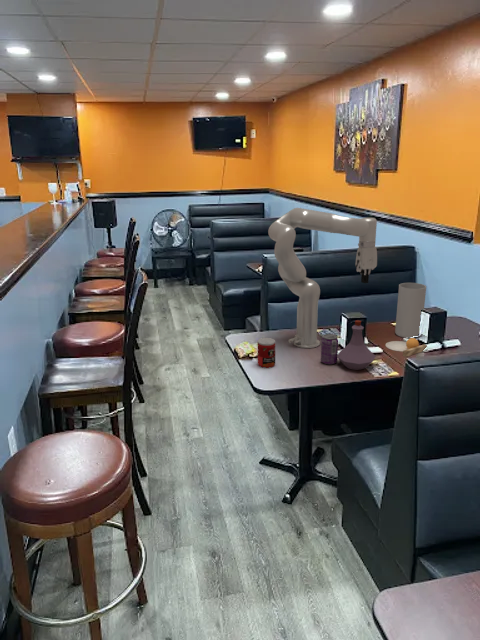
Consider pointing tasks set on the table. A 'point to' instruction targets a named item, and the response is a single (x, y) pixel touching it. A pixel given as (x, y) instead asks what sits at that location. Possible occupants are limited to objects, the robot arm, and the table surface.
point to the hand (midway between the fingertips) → (364, 282)
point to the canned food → (266, 352)
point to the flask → (356, 350)
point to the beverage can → (329, 349)
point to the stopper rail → (414, 350)
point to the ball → (412, 343)
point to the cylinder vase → (409, 309)
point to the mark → (397, 345)
